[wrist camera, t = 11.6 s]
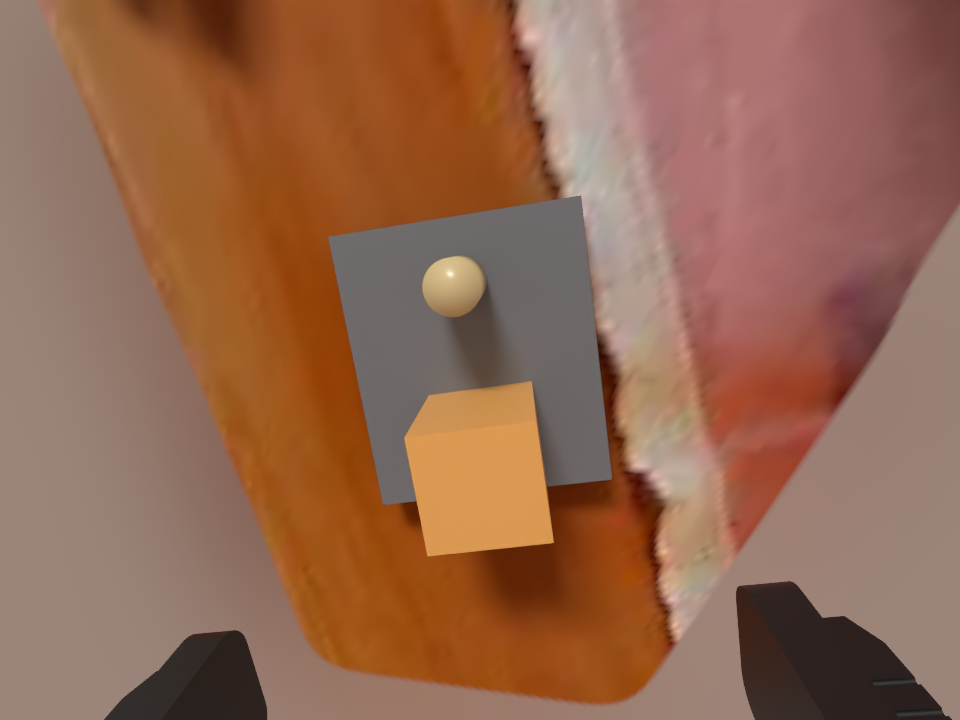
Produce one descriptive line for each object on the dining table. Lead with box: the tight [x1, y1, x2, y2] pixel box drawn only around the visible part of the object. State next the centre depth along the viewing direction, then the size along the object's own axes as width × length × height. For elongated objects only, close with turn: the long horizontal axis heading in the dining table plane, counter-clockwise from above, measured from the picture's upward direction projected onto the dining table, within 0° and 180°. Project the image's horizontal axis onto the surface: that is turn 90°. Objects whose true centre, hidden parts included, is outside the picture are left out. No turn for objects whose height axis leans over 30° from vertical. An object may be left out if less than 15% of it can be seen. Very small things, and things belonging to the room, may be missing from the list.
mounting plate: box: [328, 196, 612, 505], centre depth 25 cm, size 12×14×6 cm
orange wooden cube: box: [404, 381, 554, 556], centre depth 24 cm, size 5×5×6 cm
